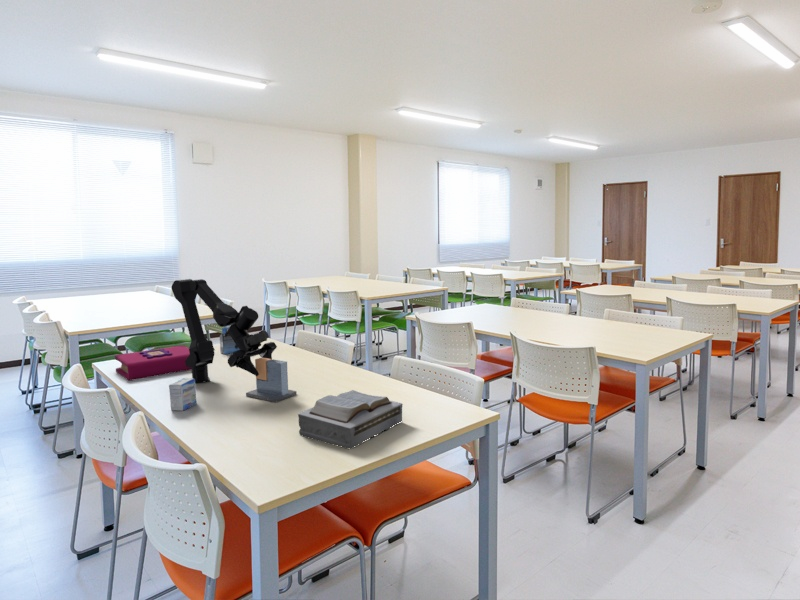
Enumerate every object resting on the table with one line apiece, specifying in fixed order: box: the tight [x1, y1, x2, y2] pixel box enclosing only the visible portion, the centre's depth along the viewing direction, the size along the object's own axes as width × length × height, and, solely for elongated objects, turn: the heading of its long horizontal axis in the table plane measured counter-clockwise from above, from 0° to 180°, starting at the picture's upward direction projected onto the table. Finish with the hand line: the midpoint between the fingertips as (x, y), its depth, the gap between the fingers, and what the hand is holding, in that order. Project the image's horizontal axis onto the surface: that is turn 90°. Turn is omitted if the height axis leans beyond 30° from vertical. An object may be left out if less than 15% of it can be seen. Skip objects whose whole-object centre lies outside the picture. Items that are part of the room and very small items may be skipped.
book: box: [114, 344, 192, 381], centre depth 225 cm, size 21×28×8 cm
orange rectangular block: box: [254, 357, 273, 381], centre depth 188 cm, size 5×3×7 cm, turn 59°
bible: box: [297, 389, 404, 449], centre depth 155 cm, size 23×27×10 cm
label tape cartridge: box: [219, 326, 239, 355], centre depth 254 cm, size 9×4×12 cm, turn 130°
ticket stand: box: [245, 358, 298, 403], centre depth 187 cm, size 14×10×12 cm
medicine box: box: [168, 377, 198, 412], centre depth 176 cm, size 8×4×9 cm, turn 168°
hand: (265, 372), depth 188 cm, fingers open, 7 cm apart
